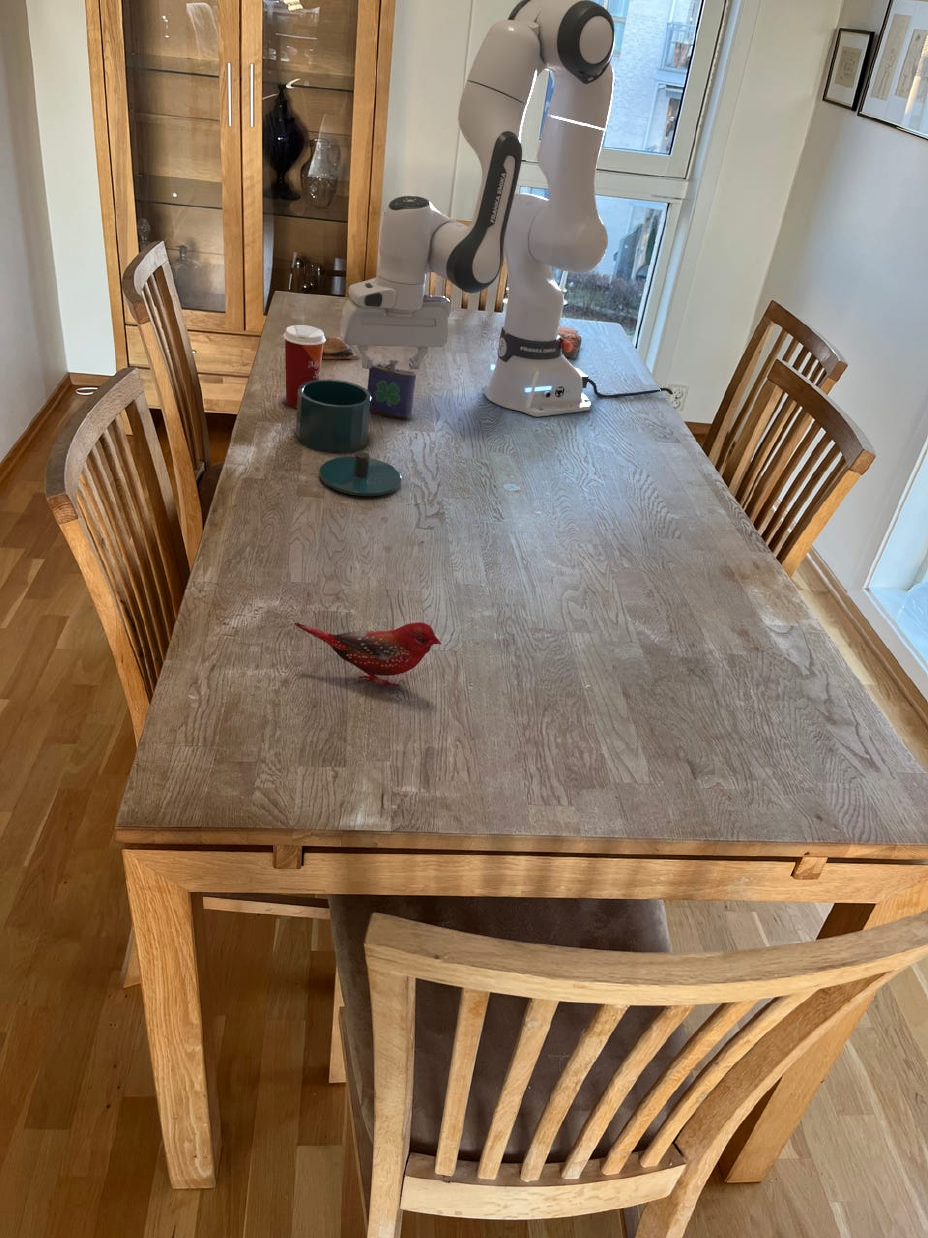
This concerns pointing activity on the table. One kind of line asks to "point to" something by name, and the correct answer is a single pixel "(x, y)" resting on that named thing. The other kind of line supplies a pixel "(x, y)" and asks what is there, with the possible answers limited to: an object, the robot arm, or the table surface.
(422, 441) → the table surface
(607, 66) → the robot arm
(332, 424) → the pot
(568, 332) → the pottery shard
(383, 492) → the pot lid
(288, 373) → the paper cup
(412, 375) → the flask
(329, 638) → the decorative bird figurine
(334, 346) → the bread roll
